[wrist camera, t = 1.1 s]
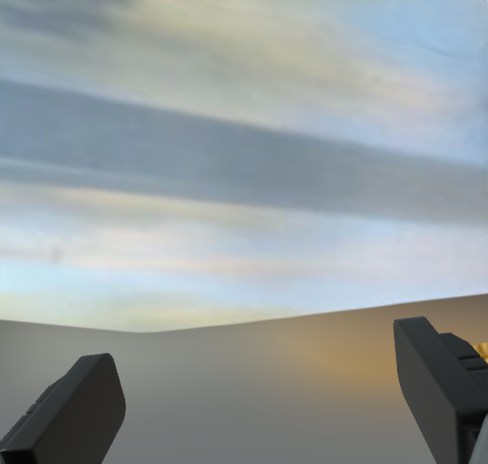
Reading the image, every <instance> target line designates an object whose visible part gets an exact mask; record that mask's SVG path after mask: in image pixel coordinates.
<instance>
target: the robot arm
mask: <svg viewBox="0 0 488 464" xmlns="http://www.w3.org/2000/svg"><path fill="white" fill-rule="evenodd" d="M393 325H394V326H393V328H394V339H395V350H396V361H397V372H398V377H399V382H400V386H401V390H402V393H403V395H404V397H405V399H406V401H407V404H408V406H409V408H410V410H411V412H412V414H413V416H414V418H415V420H416V422H417V424H418V426H419V428H420V430H421V432H422V434H423V436H424V438H425V441H426V443H427V445H428V447H429V449H430V451H431V453H432V455H433V457H434V459H435V461H436V463H437V464H488V363H487V362H486V361H485V360H484V359H483V358H481V357H480V355H479V354H478V353H477V351H476V350H475V349H474V348H473V347H472V346H471V345H470V344H469V343H468V342H467V341H464V340H463V339H461V338H459V337H457V336H455V335H453V334H452V333H442V334H438V332H437V331H436V330H435V329H434V327H433V326H432V325H431V324H430V323H429V321H428V320H427V319H426V318H425V317H424V316H422V317H412V318H405V319H396V320H394V324H393ZM125 407H126V404H125V398H124V394H123V390H122V387H121V384H120V380H119V377H118V373H117V369H116V366H115V363H114V359H113V357H112V356H111V355H110V354H109V353H103V354H95V355H87V356H82V357H80V358H79V359H78V361H77V362H76V363H75V364H74V365H73V367H72V368H71V369H70V370H69V371H68V372H67V373H66V375H64V376H63V377H62V378H60V379H59V380H57V381H56V382H55V383H53V384H52V385H51V386H49V387H48V388H47V389H46V390H45V391H44V392H43V394H42V395H41V396H40V397H39V398H38V399H37V400H36V404H33V405H32V406H31V407H30V408H29V410H27V412H26V415H23V416H22V417H21V418H20V419H19V421H18V422H17V423H16V424H15V425H14V426H13V427H12V429H11V430H10V431H9V432H8V433H7V434H6V435H5V436H4V438H3V439H2V440H1V441H0V464H101V463H102V461H103V459H104V457H105V455H106V454H107V452H108V450H109V448H110V446H111V444H112V442H113V440H114V438H115V436H116V434H117V432H118V430H119V429H120V427H121V425H122V423H123V420H124V417H125V410H126V408H125Z"/></svg>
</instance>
